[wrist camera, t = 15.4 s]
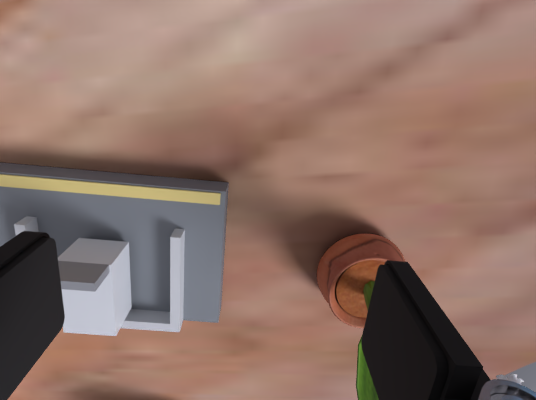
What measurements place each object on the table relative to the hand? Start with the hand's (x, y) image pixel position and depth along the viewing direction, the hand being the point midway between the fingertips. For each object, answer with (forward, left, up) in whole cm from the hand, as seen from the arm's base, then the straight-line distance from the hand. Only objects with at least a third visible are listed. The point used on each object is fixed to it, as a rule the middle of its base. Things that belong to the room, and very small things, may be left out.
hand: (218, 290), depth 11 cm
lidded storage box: (+16, -14, -25) cm, 33 cm away
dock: (+14, -14, -28) cm, 35 cm away
